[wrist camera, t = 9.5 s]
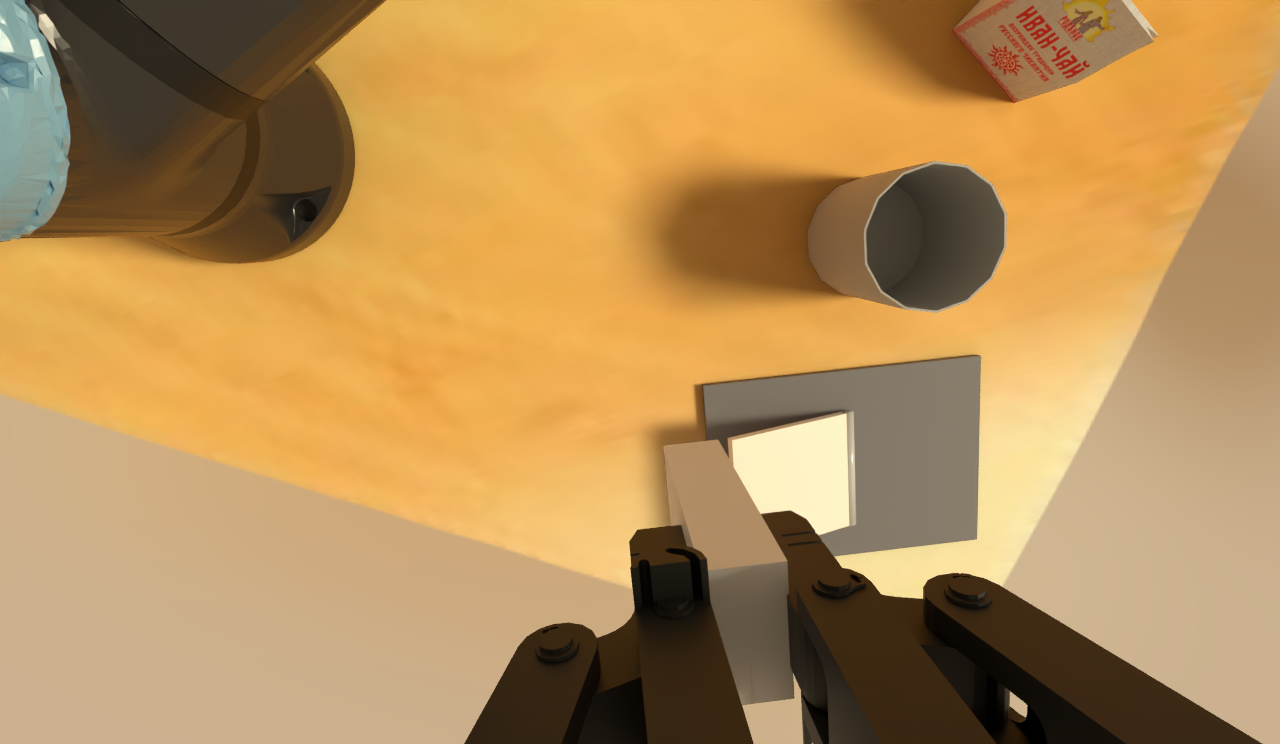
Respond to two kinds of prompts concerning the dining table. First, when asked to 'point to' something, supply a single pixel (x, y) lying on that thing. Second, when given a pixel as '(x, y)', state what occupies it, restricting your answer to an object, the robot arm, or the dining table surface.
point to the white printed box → (1050, 40)
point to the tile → (801, 469)
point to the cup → (910, 236)
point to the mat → (880, 443)
